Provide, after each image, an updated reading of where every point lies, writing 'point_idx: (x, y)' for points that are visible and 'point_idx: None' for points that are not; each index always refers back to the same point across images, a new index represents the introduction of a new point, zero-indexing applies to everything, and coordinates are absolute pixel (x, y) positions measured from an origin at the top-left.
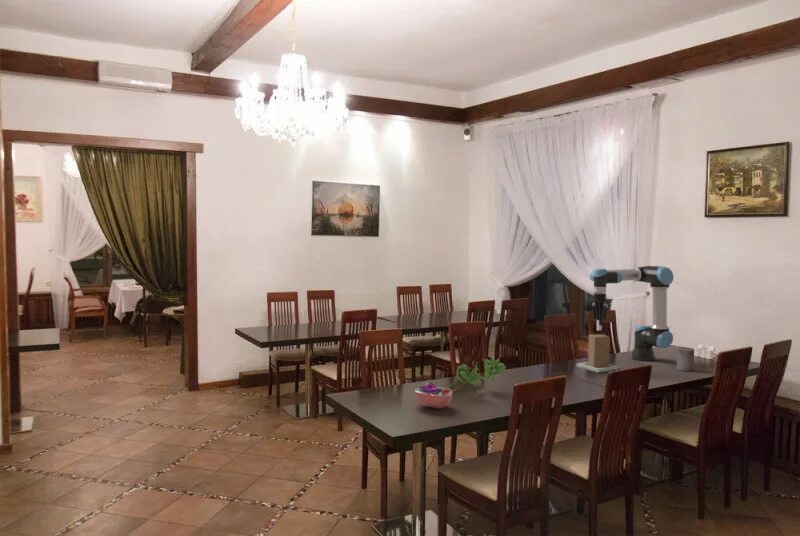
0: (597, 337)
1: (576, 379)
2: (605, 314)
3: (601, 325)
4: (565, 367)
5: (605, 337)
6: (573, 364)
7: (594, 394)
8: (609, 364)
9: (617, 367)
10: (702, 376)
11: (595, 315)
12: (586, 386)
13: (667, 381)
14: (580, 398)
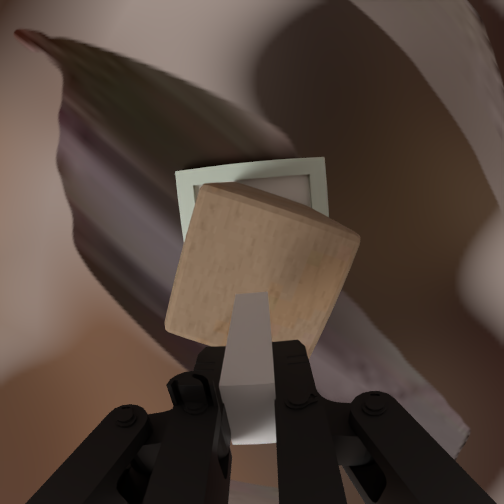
0: (312, 351)
1: None
2: (453, 483)
3: (269, 324)
4: (194, 350)
5: (343, 282)
6: (151, 282)
7: (458, 423)
8: (268, 167)
9: (324, 167)
10: (463, 3)
11: (100, 456)
12: (419, 417)
13: (499, 151)
14: (450, 449)
